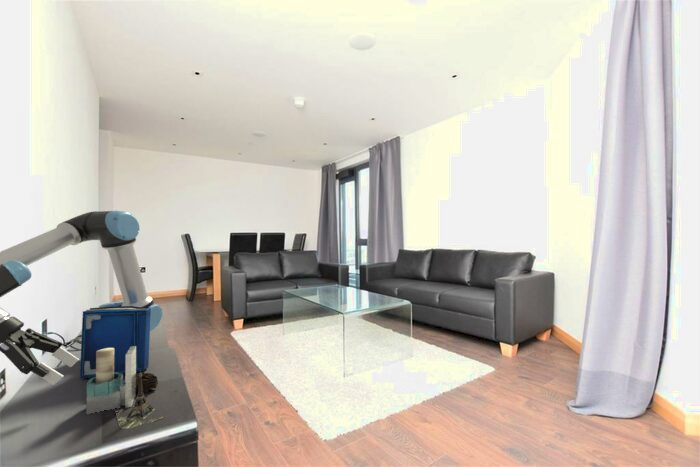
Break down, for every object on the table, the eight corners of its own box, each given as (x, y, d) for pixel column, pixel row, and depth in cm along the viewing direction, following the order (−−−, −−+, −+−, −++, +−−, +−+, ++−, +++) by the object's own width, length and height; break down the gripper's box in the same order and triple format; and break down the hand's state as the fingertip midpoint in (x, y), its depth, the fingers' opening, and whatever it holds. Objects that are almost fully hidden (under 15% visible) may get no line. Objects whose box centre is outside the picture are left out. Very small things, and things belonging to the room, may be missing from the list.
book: (152, 365, 127) (153, 303, 127) (147, 372, 120) (147, 307, 120) (87, 373, 120) (88, 307, 120) (78, 381, 113) (79, 311, 114)
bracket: (92, 403, 98) (92, 351, 98) (135, 395, 103) (136, 345, 103) (83, 416, 90) (84, 360, 90) (131, 407, 95) (131, 354, 95)
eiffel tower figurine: (112, 413, 93) (112, 367, 93) (152, 400, 100) (152, 358, 100) (121, 435, 82) (122, 384, 83) (165, 419, 89) (165, 372, 90)
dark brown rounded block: (91, 401, 99) (91, 383, 99) (102, 391, 106) (102, 374, 106) (155, 393, 104) (154, 376, 104) (161, 384, 110) (161, 368, 111)
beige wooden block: (97, 388, 97) (98, 349, 97) (115, 385, 99) (115, 347, 99) (93, 394, 93) (94, 353, 93) (112, 391, 95) (112, 351, 95)
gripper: (7, 326, 95) (70, 366, 102) (-49, 352, 73) (36, 402, 80) (31, 307, 98) (91, 347, 104) (-17, 326, 76) (64, 376, 82)
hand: (67, 371), depth 92 cm, fingers open, 13 cm apart
